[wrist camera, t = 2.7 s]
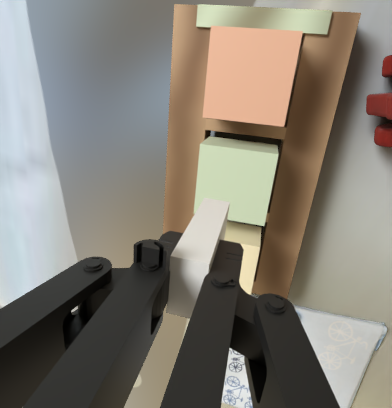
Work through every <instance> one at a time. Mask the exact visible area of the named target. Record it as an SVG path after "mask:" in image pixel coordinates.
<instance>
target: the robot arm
mask: <svg viewBox="0 0 392 408" xmlns="http://www.w3.org/2000/svg"><path fill="white" fill-rule="evenodd" d="M229 206H230V202H227V201H221V200H215V199H209V198H204V199H203V201H202V203H201V204H200V206H199V208H198V209H197V211H196V213H195V215H194V216H193V218H192V220H191V221H190V223H189V225H188V227H187V228H186V230H185V232H184V233H180V232H175V231H168V232H166V233H164V234H163V235H162V236H161V237H160V239H159V241H158V240H151V239H149V240H142V241H139V242H137V243H136V244H134V263H133V264H132V266H131V267H130V268H112V264H111V262H110V261H109V260H108V259H106V258H103V257H90V258H86V259H84V260H81V261H80V262H78V263H76V264H74V265H73V266H71V267H69V268H68V269H66V270H64V271H63V272H61V273H60V274H58V275H56V276H55V277H53V278H51V279H50V280H48V281H46V282H45V283H43V284H41V285H40V286H38V287H36V288H35V289H33V290H31V291H30V292H28V293H26V294H25V295H23V296H21V297H20V298H18V299H16V300H15V301H13V302H11V303H10V304H8V305H6V306H5V307H3V308H1V309H0V408H22V407H23V408H124V406H125V403H126V401H127V399H128V397H129V394H130V392H131V390H132V388H133V386H134V383H135V381H136V379H137V377H138V374H139V372H140V370H141V367H142V366H143V363H144V361H145V359H146V357H147V354H148V352H149V350H150V348H151V346H152V343H153V341H154V339H155V337H156V334H157V332H158V330H159V328H160V326H161V323H162V319H163V311H164V308H165V306H166V304H167V309H166V313H169V314H174V315H178V316H182V317H186V318H190V321H189V324H188V327H187V330H186V333H185V336H184V339H183V342H182V345H181V347H180V350H179V353H178V356H177V359H176V362H175V365H174V368H173V371H172V374H171V377H170V380H169V383H168V386H167V389H166V391H165V394H164V397H163V400H162V403H161V407H160V408H221V402H222V395H223V388H224V382H225V375H226V368H227V362H228V355H229V348H231V349H233V350H235V351H236V352H238V353H240V354H242V355H243V356H244V362H245V368H246V373H247V378H248V384H249V389H250V394H251V400H252V405H253V408H340V406H339V404H338V402H337V400H336V398H335V395H334V393H333V391H332V389H331V387H330V384H329V382H328V380H327V378H326V376H325V373H324V371H323V369H322V367H321V365H320V362H319V360H318V358H317V356H316V354H315V351H314V349H313V347H312V345H311V343H310V341H309V338H308V336H307V334H306V332H305V330H304V327H303V325H302V323H301V321H300V319H299V316H298V314H297V312H296V310H295V308H294V306H293V305H292V303H291V302H290V301H288V300H287V299H286V298H284V297H282V296H280V295H277V294H272V293H268V294H262V295H260V296H259V297H258V298H255V297H253V296H251V295H249V294H248V293H246V292H245V291H244V290H243V289H242V288H241V286H240V283H239V279H240V272H241V265H242V259H243V252H244V249H243V247H242V246H241V244H240V243H236V242H230V241H225V240H224V239H225V232H226V226H227V219H228V212H229ZM76 306H78V309H77V310H76V311H74V312H72V313H71V310H72V309H74V308H75V307H76Z"/></svg>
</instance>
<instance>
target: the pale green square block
mask: <svg viewBox="0 0 392 408" xmlns="http://www.w3.org/2000/svg"><path fill="white" fill-rule="evenodd" d="M278 155H279V154H278V146H277V145H274V144H266V143H258V142H250V141H242V140H235V139H227V138H219V137H211V136H209V137H208V138H207V139H206V140H204V141H203V142H202V143H201V144H200V150H199V161H198V171H197V182H196V193H195V204H194V214H195V213H196V211H197V209H198V208H199V206H200V204H201V203H202V201H203V199H204V198H209V199H215V200H221V201H227V202H230V206H229V212H228V219H227V220H232V221H237V222H243V223H249V224H254V225H260V226H264V225H265V220H266V215H267V210H268V205H269V200H270V195H271V190H272V185H273V180H274V175H275V170H276V165H277V160H278Z"/></svg>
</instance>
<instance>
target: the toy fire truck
mask: <svg viewBox="0 0 392 408" xmlns="http://www.w3.org/2000/svg"><path fill="white" fill-rule="evenodd" d="M382 76H383V77H392V55H390V56H387V57H385V58H384V60H383V67H382ZM366 112H367V114H368V115H375V116H381V117H386V118H387V119H389V120H392V92H389V93H379V94H370V95H368V96H367V104H366ZM374 142H375V144H376V145H379V146H384V147H392V123H388V124H382V125H379V126H377V127H376V128H375V136H374Z"/></svg>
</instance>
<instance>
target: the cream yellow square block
mask: <svg viewBox="0 0 392 408" xmlns="http://www.w3.org/2000/svg"><path fill="white" fill-rule="evenodd" d="M224 240H225V241H230V242H236V243H240V244H241V246H242V247H243V249H244V252H243V259H242V265H241V272H240V279H239V283H240V286H241V288H242V289H243V290H244V291H245V292H246V293H248V294H249V295H251V291H252V286H253V281H254V276H255V271H256V266H257V261H258V256H259V251H260V242H261V227H258V226H252V225H247V224H241V223H235V222H230V221H227V226H226V232H225V239H224Z"/></svg>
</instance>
